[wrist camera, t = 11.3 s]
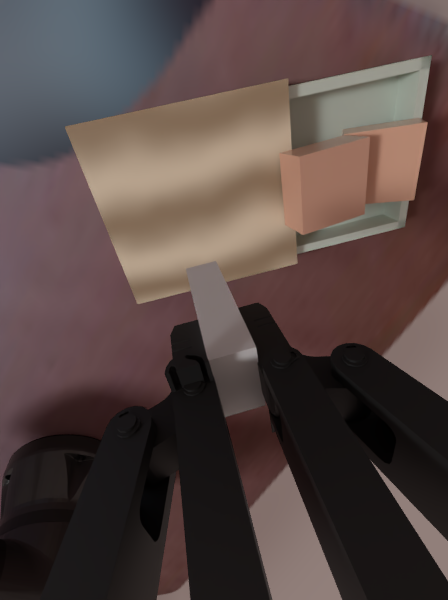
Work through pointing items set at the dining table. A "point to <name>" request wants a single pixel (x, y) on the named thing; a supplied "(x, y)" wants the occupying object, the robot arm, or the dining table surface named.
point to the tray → (354, 113)
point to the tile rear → (392, 158)
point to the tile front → (324, 182)
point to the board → (192, 186)
